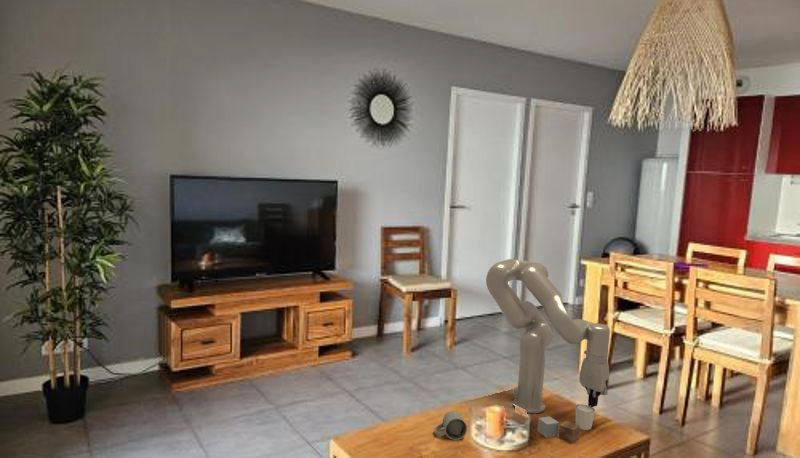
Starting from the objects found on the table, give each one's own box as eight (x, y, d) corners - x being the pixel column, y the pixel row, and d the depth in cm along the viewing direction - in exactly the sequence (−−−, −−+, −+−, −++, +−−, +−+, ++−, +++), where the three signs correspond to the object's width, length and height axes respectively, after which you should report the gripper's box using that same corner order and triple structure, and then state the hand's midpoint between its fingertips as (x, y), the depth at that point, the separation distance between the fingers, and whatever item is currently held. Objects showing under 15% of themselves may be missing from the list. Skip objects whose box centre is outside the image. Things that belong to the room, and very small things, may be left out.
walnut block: (558, 438, 189) (559, 424, 188) (565, 433, 193) (566, 420, 192) (572, 443, 186) (573, 430, 185) (578, 439, 189) (579, 425, 189)
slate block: (537, 431, 193) (538, 418, 193) (548, 429, 195) (550, 416, 195) (546, 438, 189) (547, 424, 188) (557, 436, 191) (559, 422, 190)
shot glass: (597, 429, 197) (599, 411, 196) (582, 431, 195) (584, 413, 194) (584, 420, 204) (586, 403, 203) (569, 423, 201) (571, 405, 200)
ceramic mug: (461, 428, 192) (462, 408, 191) (466, 440, 184) (467, 418, 183) (432, 429, 191) (432, 408, 190) (436, 440, 183) (437, 419, 182)
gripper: (573, 352, 203) (569, 400, 204) (607, 365, 190) (603, 415, 192) (586, 350, 207) (582, 396, 208) (620, 362, 194) (616, 411, 196)
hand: (592, 405), depth 200 cm, fingers closed
